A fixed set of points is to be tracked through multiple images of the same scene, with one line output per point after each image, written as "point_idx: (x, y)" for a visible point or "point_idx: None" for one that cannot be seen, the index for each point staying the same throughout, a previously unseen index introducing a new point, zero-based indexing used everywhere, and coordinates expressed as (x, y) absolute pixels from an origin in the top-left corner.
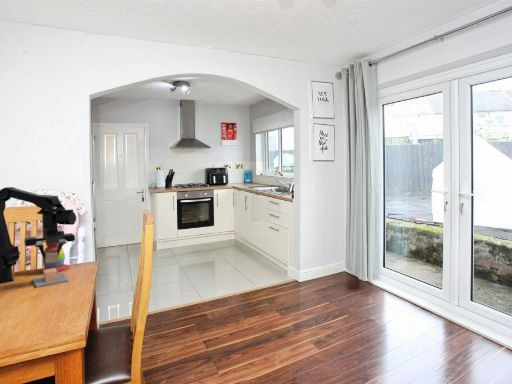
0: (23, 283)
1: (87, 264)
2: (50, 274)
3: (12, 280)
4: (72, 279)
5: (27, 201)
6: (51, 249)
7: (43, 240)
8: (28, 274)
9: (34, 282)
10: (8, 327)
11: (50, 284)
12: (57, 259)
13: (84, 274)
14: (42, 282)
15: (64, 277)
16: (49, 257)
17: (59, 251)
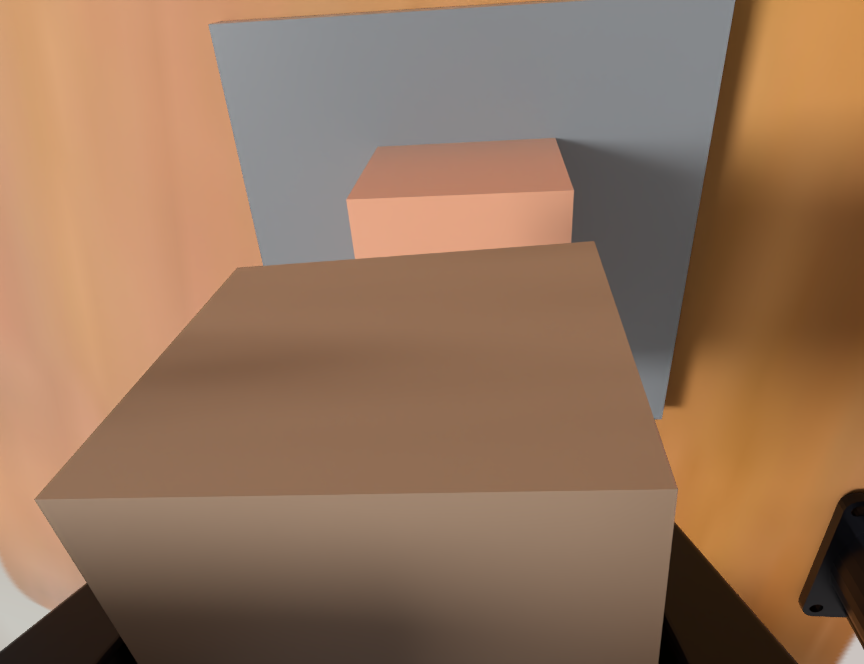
0: (791, 344)
1: (70, 577)
2: (478, 178)
3: (860, 497)
4: (168, 111)
5: None
6: None
7: None
8: None
9: (683, 267)
10: None
11: (500, 3)
12: (229, 302)
13: (27, 254)
14: (601, 153)
15: (276, 210)
16: (490, 355)
17: (26, 640)
